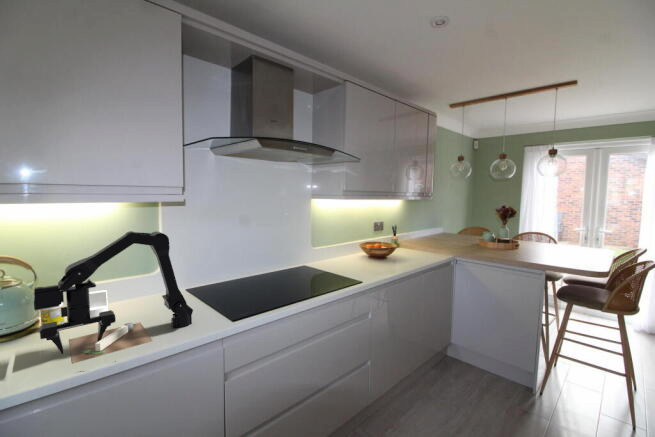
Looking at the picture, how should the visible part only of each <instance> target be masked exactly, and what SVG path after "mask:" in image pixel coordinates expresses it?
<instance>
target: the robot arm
mask: <svg viewBox="0 0 655 437" xmlns="http://www.w3.org/2000/svg"><path fill="white" fill-rule="evenodd" d="M134 244H136V245H142V246H143V245H145V246H149V247H150V248H151V250H152V252H153V254H154V255H155V257H156V260H157V263H158V266H159V270H160V274H161V277H162V280H163V284H164V288H165V294H162V295H161V297H162V299H163V300H164V301H163V302H164V303H163V305H164V306H165V308H167V309H168V310H170V311H171V312H172V317H171V319H170V321H171V324H170V325H171V328H172V329H182V328H186V327H189V326H190V325H192V322H193V321H192V320H193V319H192V318H193V317H192V316H193V312H194V309H193V308H192V307H191V306H190V305H188V304H187V301H186V299H185V297H184V295H183V293H182V292H181V290H180V289H179V286H178V283H177V280H176V275H175V271H174V268H173V265H172V261H171V257H170V248H171V247H170V246H171V245H170V239H169V236H168V235H167V234H165V233H162V232H160V231H153V232H138V231H132V230H130V231H127V232H126V233H125V234H123V235H122V236H120V237H118V238H117V239H116V240H114V241H112V242H111V243H110V244H108V245H106V246H105V247H103V248H102V249H100V250H98V251H97V252H95V253H94V254H92V255H90V256H87V257H85V258H81V259H80V260H78V261H75V262H73V263H70V264H69V265H68V266H66V268H65V270H64V275H63V276H62V277H61V279H60V280H59V281H58V282H57V284H53V285H48V286H36V287H34V289H33V290H34V298H33V308H34V311H35V312H36V311H40V310H41V309H47V308H52V307H58V306H59V305H60V304H61V302H63V303H65V299H64V293H65V296H66V297H65V298H66V306H63V307H62V308H61V317H64V318H65V317H66V321H67V322H64V324H59V325H57V321H56V322H51V323H47V324H42V325H40V326H39V339H40V340H44V339H46V341H51V342H52V343H53V344H54V345H55V346H56V347H57V350H58V351H59V353H60V355H63V354H64V346H63V343H62V338H61V335H60V331H64V330H69V329H73V328H77V327H83V326H86V325H87V326H88V325H91V324H96V323H97V324H98V325H97V327H98V328H97V333H98V337H97V342H99V341H100V340H101V339H102V336H103V334H104V332H105V331H106V330H108V329H107V328H108V327H110V326H112V324H114V323H116V322H117V321H116V320H117V319H116V313H115V312H114V311H113V310H108V311H105V312H100V313H99V316H97V317H92V318H90V300H89V292H90V289H92V288H96V287H97V284H96V283H95V282H94V281H92V280H91V279H89V278H90V277H91V276H92V275H94V274H95V272H96V271H97V270H98V269H99V268H100V267H102V265H103V264H105V263H107V262H108V261H110V260H111V259H113V258H114V257H116V256H117V255H119V254H121V253H122V252H124V251H125V250H126V249H128V248H129V247H131V246H132V245H134Z"/></svg>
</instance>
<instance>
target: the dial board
mask: <svg viewBox="0 0 655 437" xmlns="http://www.w3.org/2000/svg"><path fill="white" fill-rule="evenodd" d="M120 327H121V326H120ZM120 327H115V328H111V329H106V330H105V332H104V334H103V336H102V339H103V338H105V337H106V336H108V335H109V334H111V333H113V332H114V331H116V330H117V329H119V328H120ZM97 337H98V332H94V333H90V334H85V335H83V336H82V335H81V336H78V337H73V338H70V339H68V343H69V352H70V358H71V360H70V361H71V364H73V365H74V364H78V363H80V362H83V361H87V360H90V359H94V358H97V357H98V358H99V357H101V356H105V355H108V354H112V353H115V352H118V351H122V350H125V349H130V348H132V347H136V346H140V345H143V344H148V343H150V342H153V338H152V337H151V336H150V334H149V333H148V331H147V330H146V329H145V327H144V325H143V324H142V323H141V321H140V322H136V323H133V331H132V332H128V333H126V334H125V335H123V336H122V337H120V338H119V339H117V340H116V341H114V342H113V343H111V344H110V345H108V346H107V347H106V348H104V349H103V350H101V351H96V348H95V343H97ZM102 339H101V340H102Z"/></svg>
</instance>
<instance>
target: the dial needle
mask: <svg viewBox="0 0 655 437" xmlns="http://www.w3.org/2000/svg"><path fill="white" fill-rule="evenodd" d="M133 324H134V323H133V322H127V323H124V324H123V325H122V326H120V328H119V327H118V328H119V329H117V330H116V331H114V332H113V333H111V334H109V335H108V336H106V337H105V338H103V339H102V340H100V341H99V342H97V343H95V348H96V351H101V350H103V349H104V348H106V347H107V346H108V345H110V344H111V343H113V342H114V341H116V340H117V339H119V338H120V337H122V336H123V335H125V334H126V333H128V332H132V331H133Z"/></svg>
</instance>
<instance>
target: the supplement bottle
mask: <svg viewBox="0 0 655 437" xmlns="http://www.w3.org/2000/svg"><path fill="white" fill-rule="evenodd" d="M62 307H64V302H61V304H60V305H59V306H58V307H52V308H47V309H41V310H39V311H40V324H41V325H42V324H47V323H51V322H56V321H57V325H59V324H64V323H65V317H61V308H62ZM41 325H40V326H41Z"/></svg>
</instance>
